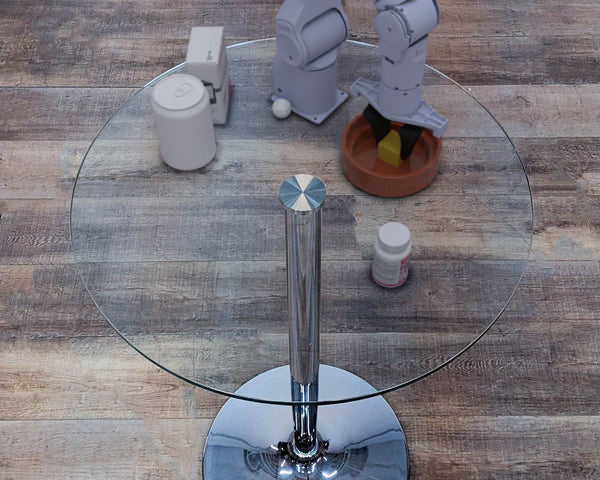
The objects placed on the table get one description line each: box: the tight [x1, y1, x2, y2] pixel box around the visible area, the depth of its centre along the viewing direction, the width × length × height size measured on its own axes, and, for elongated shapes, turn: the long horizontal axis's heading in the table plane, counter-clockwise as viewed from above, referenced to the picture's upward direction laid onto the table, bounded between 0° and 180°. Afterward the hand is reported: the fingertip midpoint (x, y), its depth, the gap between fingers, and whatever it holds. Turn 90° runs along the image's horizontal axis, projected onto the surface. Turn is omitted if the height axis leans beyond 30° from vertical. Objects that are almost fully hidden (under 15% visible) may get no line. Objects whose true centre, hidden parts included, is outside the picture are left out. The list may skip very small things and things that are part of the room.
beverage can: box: [150, 73, 217, 171], centre depth 124 cm, size 8×8×12 cm
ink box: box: [184, 26, 231, 125], centre depth 130 cm, size 8×5×12 cm, turn 177°
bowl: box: [340, 112, 443, 198], centre depth 126 cm, size 14×14×4 cm
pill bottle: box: [371, 221, 412, 288], centre depth 112 cm, size 5×5×8 cm
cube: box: [377, 130, 404, 168], centre depth 126 cm, size 4×4×3 cm
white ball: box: [271, 98, 292, 119], centre depth 132 cm, size 3×3×3 cm
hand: (394, 150), depth 126 cm, fingers closed on cube, 3 cm apart
